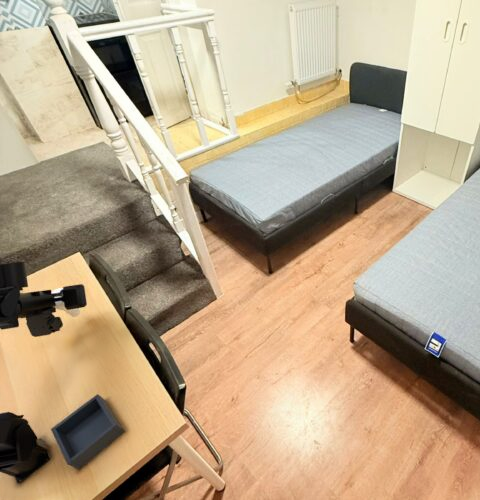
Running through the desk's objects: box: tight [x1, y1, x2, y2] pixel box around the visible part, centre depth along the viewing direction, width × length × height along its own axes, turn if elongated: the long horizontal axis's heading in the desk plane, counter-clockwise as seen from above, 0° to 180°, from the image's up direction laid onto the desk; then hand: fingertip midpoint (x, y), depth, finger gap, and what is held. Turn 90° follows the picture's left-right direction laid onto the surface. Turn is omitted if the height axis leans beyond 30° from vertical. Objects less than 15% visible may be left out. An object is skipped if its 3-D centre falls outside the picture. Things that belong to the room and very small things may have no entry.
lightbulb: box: [51, 287, 81, 318], centre depth 96 cm, size 6×6×11 cm
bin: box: [50, 393, 126, 471], centre depth 78 cm, size 11×11×5 cm
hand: (66, 297), depth 96 cm, fingers closed on lightbulb, 6 cm apart
